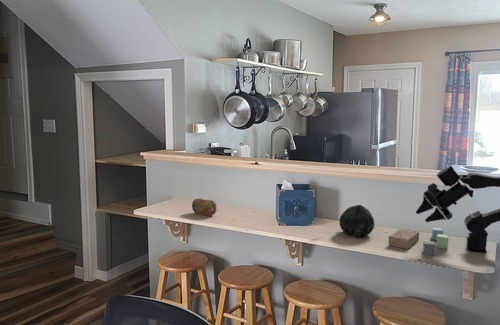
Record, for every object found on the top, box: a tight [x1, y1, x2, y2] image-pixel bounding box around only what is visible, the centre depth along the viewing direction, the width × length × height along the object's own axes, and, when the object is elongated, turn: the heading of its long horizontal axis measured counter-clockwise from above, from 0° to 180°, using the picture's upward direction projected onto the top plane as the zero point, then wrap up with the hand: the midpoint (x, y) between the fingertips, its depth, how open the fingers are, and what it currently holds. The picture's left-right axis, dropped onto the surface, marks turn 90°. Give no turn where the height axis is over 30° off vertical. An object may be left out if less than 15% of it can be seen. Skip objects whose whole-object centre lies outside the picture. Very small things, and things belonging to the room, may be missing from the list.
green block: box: [435, 234, 449, 249], centre depth 182 cm, size 4×4×4 cm
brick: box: [388, 227, 420, 250], centre depth 186 cm, size 17×8×5 cm, turn 143°
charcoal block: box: [422, 240, 436, 256], centre depth 173 cm, size 4×4×4 cm
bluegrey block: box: [431, 227, 444, 241], centre depth 191 cm, size 4×4×4 cm
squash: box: [338, 204, 375, 238], centre depth 196 cm, size 14×15×15 cm
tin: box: [191, 198, 217, 217], centre depth 229 cm, size 15×3×8 cm, turn 55°
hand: (421, 217), depth 183 cm, fingers open, 9 cm apart
